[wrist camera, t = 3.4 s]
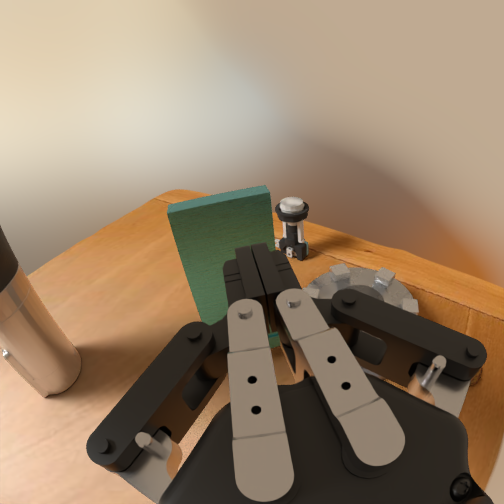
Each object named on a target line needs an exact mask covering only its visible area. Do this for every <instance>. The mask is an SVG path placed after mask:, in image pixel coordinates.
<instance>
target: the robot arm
mask: <svg viewBox="0 0 504 504" xmlns="http://www.w3.org/2000/svg"><path fill="white" fill-rule="evenodd" d="M234 249H235V255H236V259H232V260H227V261H225V263H224V266H223V268H222V270H223V276H224V282H225V288H226V294H227V300H228V311H227V314H226V315H225V316H224V317H223V318H222V319H221V320H220V321H218V322H216V323H214V324H212V325H210V326H209V325H208V324H206V323H204V322H192V323H189V324H187V325H185V326H183V327H182V328H181V329H180V330H179V332H178V333H177V334H176V335H175V336H174V337H173V339H172V340H171V341H170V342H169V343H168V344H167V346H166V347H165V348H164V349H163V350H162V352H161V353H160V354H159V355H158V356H157V357H156V359H155V360H154V361H153V362H152V363H151V364H150V366H149V367H148V368H147V369H146V370H145V372H144V373H143V374H142V375H141V376H140V377H139V379H138V380H137V381H136V382H135V383H134V384H133V386H132V387H131V388H130V389H129V390H128V392H127V393H126V394H125V395H124V396H123V397H122V399H121V400H120V401H119V402H118V403H117V405H116V406H115V407H114V408H113V409H112V410H111V412H110V413H109V414H108V415H107V416H106V418H105V419H104V420H103V421H102V422H101V423H100V425H99V426H98V427H97V428H96V429H95V431H94V432H93V433H92V434H91V435H90V437H89V439H88V441H87V445H86V449H87V453H88V456H89V457H90V459H91V460H92V461H93V462H95V463H96V464H98V465H100V466H102V467H104V468H105V469H106V470H108V471H110V472H112V473H114V474H116V475H118V476H120V477H122V478H123V479H124V480H126V481H127V482H128V483H129V484H131V485H132V486H133V487H134V488H136V489H137V490H138V491H140V492H141V493H142V494H144V495H145V496H146V497H148V498H149V499H150V500H152V501H153V502H155V503H156V504H494V503H493V502H492V500H491V498H490V497H489V496H488V495H487V494H486V493H485V492H484V491H483V490H482V489H481V488H480V487H479V486H478V485H477V484H476V482H475V481H474V480H473V478H472V477H471V474H470V471H469V466H468V436H467V432H466V429H465V427H464V425H463V423H462V422H461V421H460V420H459V419H458V417H459V414H460V411H461V409H462V406H463V403H464V400H465V397H466V394H467V391H468V387H469V384H470V381H471V380H472V379H473V377H474V376H475V375H476V374H477V372H478V371H479V370H480V368H481V367H482V366H483V364H484V363H485V361H486V358H487V353H486V349H485V347H484V346H483V344H482V343H481V342H480V341H478V340H476V339H474V338H472V337H469V336H467V335H464V334H462V333H459V332H457V331H455V330H452V329H450V328H447V327H445V326H442V325H440V324H438V323H435V322H433V321H430V320H428V319H425V318H423V317H421V316H418V315H416V314H413V313H411V312H408V311H406V310H403V309H401V308H399V307H396V306H394V305H391V304H389V303H386V302H384V301H381V300H379V299H377V298H374V297H372V296H369V295H367V294H364V293H362V292H359V291H357V290H354V289H342V290H339V291H337V292H336V293H335V294H334V295H333V296H332V299H318V298H313V297H310V295H309V294H308V293H307V292H305V291H304V290H302V288H301V286H300V284H299V282H298V280H297V278H296V276H295V273H294V271H293V269H292V267H291V265H290V263H289V261H288V259H287V257H286V255H285V254H283V253H282V252H281V251H279V250H276V251H271V252H270V251H269V249H268V246H267V244H266V242H263V243H258V244H253V245H251V249H250V246H249V245H248V246H243V247H238V248H234ZM269 325H270V328H271V331H272V333H273V332H278V335H279V338H280V346H281V349H282V351H283V354H284V356H285V358H286V361H287V363H288V365H289V368H290V370H291V372H292V375H293V377H294V380H295V384H293V385H277V381H276V376H275V371H274V365H273V360H272V355H271V349H270V346H269V339H268V334H269V333H270V328H269ZM367 333H368V334H367ZM369 334H370V335H369ZM378 338H379V339H378ZM0 347H1V348H2V352H3V356H4V358H5V359H6V361H7V362H8V363H9V364H10V365H11V366H12V367H13V368H14V369H15V370H16V371H17V372H18V373H19V374H20V375H21V376H22V377H23V378H24V379H25V380H26V381H27V382H28V383H29V384H30V385H31V386H32V387H33V388H34V389H35V390H36V391H37V392H38V393H39V394H40V395H42V396H43V397H44V398H45V397H46V396H48V395H50V394H58V393H61V392H63V391H65V390H66V389H68V388H69V387H70V386H71V385H72V384H73V383H74V382H75V380H76V379H77V377H78V375H79V373H80V369H81V357H80V354H79V353H78V351H77V350H76V349H75V347H74V346H73V344H72V343H71V342H70V341H69V340H68V338H67V337H66V336H65V334H64V333H63V332H62V330H61V329H60V327H59V326H58V325H57V323H56V322H55V320H54V319H53V318H52V316H51V315H50V313H49V312H48V310H47V309H46V307H45V306H44V304H43V303H42V301H41V300H40V298H39V296H38V295H37V293H36V292H35V290H34V288H33V287H32V285H31V283H30V282H29V280H28V278H27V277H26V275H25V273H24V271H23V270H22V268H21V266H20V264H19V262H18V261H17V259H16V257H15V255H14V253H13V251H12V249H11V247H10V245H9V243H8V242H7V239H6V237H5V235H4V233H3V231H2V229H1V226H0ZM360 366H361V367H363V368H365V369H368V370H370V371H372V372H374V373H376V374H378V375H380V376H382V377H384V378H387V379H389V380H391V381H393V382H395V383H397V384H399V385H402V386H404V387H406V388H408V392H409V393H407V392H405V391H403V390H401V389H399V388H397V387H395V386H393V385H392V384H390V383H388V382H386V381H384V380H382V379H380V378H378V377H376V376H374V375H371V374H369V373H365V372H363V370H362V369H361V367H360ZM226 373H228V374H229V388H230V403H228V404H227V405H225V406H224V407H223V408H222V409H221V410H220V411H218V413H217V414H216V415H215V416H214V418H213V419H212V421H211V422H210V424H209V425H208V427H207V429H206V430H205V432H204V433H203V435H202V436H201V438H200V439H199V441H198V443H197V444H196V446H195V447H194V449H193V450H192V452H191V453H190V455H189V456H188V458H187V459H186V461H185V462H184V464H183V465H182V467H181V468H180V470H179V471H178V466H179V464H180V463H181V460H182V451H181V448H180V447H179V445H178V444H179V442H180V441H181V440H182V438H183V437H184V436H185V434H186V433H187V432H188V430H189V429H190V427H191V426H192V425H193V423H194V422H195V420H196V419H197V418H198V416H199V415H200V413H201V412H202V411H203V409H204V408H205V406H206V405H207V403H208V402H209V401H210V399H211V398H212V396H213V395H214V393H215V392H216V390H217V389H218V387H219V386H220V385H221V383H222V382H223V380H224V379H225V377H226ZM177 471H178V473H177Z"/></svg>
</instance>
